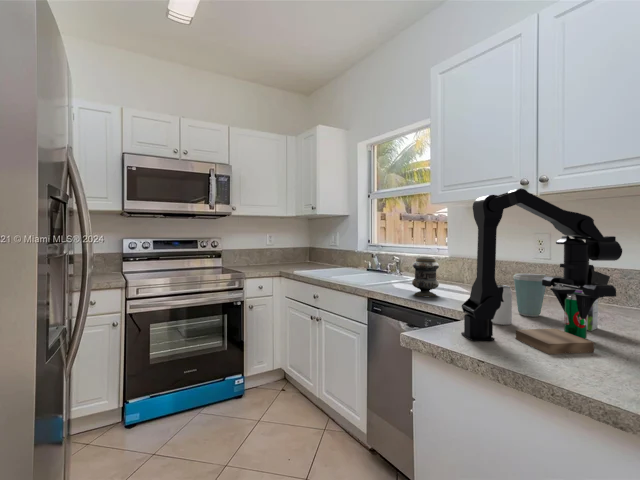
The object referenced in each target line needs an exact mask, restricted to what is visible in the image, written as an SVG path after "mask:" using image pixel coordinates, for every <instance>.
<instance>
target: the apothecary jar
mask: <svg viewBox="0 0 640 480" xmlns="http://www.w3.org/2000/svg"><path fill="white" fill-rule="evenodd" d="M412 268H413V269H414V271H415V273H414V279H412V281H411V284H412V286H413V287H414V288H417V289H418V290H420V291H417V292H415V293H414V296H416V295H417V296H416V297H421V296H429V297H428V298H431V297H430V296H435V297H437V294H436V293H434V292H432V291H433V290H435V289H438V287H439V285H440V282H439V280H437V270H438V269H439V268H440V264H439V263H438V261H437V260H436V257H434V256H428V255H427V256H424V255H423V256H422V255H421V256H419V255H418V256H416V258H415V261H414V262H413V263H412Z"/></svg>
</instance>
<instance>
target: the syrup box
mask: <svg viewBox="0 0 640 480" xmlns="http://www.w3.org/2000/svg"><path fill="white" fill-rule="evenodd" d="M571 289H573V288H571ZM582 292H583V291H582V290H578V289H576V291H575V292H574V293H573V294H582ZM598 317H599V298H598V299H597V300H596V301H595V302H594V303H593V305H592V307H591V309H590V311H589V313H588V315H587V331H589V332H592V331H594V330H596V329H598V323H599V321H598V319H599V318H598Z"/></svg>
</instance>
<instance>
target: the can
mask: <svg viewBox="0 0 640 480" xmlns="http://www.w3.org/2000/svg"><path fill="white" fill-rule="evenodd" d="M497 285H498V286H502V287H503V295H502V297H503V301H504V302H501V306H500V308H499V309H498V310H497V311H496V313H495V316H494V318H493V319H491V321H492V322H493V325H499V326H510V325H511V324H512V321H513V320H512V318H513V292H512V291H513V290H512V289H511V286H509V285H504V284H502V285H501V284H497Z"/></svg>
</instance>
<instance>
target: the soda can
mask: <svg viewBox="0 0 640 480" xmlns="http://www.w3.org/2000/svg"><path fill="white" fill-rule="evenodd" d="M566 295H567V296H566V297H565V309H564V310H563V312H564V317H563V320H564V323H563V324H564V325H563V331H564V332H567V333H570V334H573V335H575V336H578V337H581V338H584V339H586V340H587V338H588V337H587V336H588V335H587V334H588V330H587V317H586V319H581V317H580V314H579V309H578V305H577V300H576V295H575V294H566Z"/></svg>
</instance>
